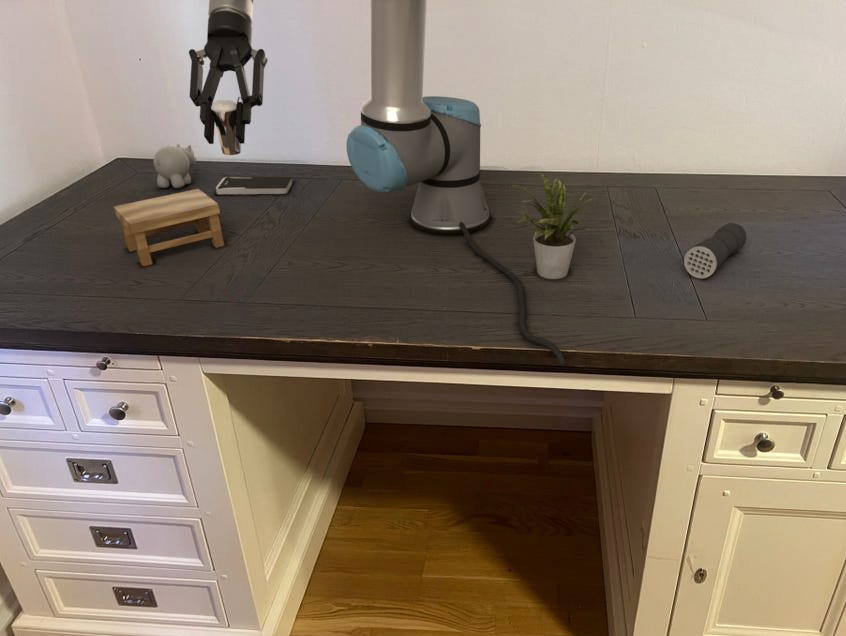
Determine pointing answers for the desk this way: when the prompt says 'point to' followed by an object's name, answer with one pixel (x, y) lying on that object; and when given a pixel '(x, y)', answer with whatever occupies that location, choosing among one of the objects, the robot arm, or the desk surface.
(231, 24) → the robot arm
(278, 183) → the smartphone
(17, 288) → the desk surface
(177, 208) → the stool
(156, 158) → the round bodied animal figurine
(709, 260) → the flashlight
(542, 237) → the house plant
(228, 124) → the milkshake
